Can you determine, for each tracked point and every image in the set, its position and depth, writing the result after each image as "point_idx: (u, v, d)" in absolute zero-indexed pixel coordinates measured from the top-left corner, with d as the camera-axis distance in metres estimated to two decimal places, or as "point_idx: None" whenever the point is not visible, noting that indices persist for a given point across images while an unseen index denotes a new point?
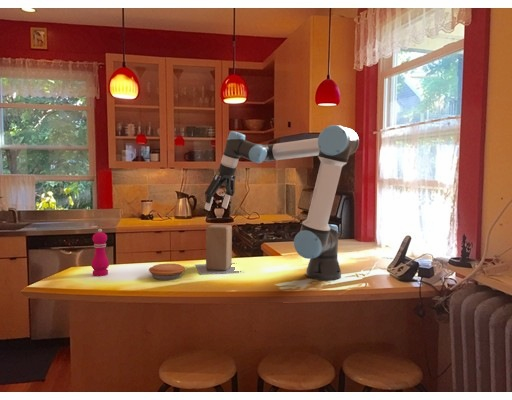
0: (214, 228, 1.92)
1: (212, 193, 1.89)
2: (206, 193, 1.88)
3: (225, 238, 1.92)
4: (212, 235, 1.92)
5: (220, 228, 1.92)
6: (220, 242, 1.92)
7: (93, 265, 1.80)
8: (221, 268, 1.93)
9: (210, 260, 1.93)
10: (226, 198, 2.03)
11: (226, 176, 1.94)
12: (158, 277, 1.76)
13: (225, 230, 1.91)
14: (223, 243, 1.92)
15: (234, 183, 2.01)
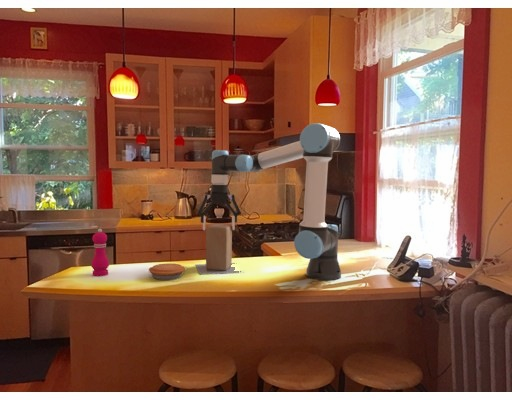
0: (214, 228, 1.92)
1: (202, 212, 1.94)
2: (197, 213, 1.94)
3: (225, 238, 1.92)
4: (212, 235, 1.92)
5: (220, 228, 1.92)
6: (220, 242, 1.92)
7: (93, 265, 1.80)
8: (221, 268, 1.93)
9: (210, 260, 1.93)
10: (232, 219, 1.98)
11: (218, 194, 1.95)
12: (158, 277, 1.76)
13: (225, 230, 1.91)
14: (223, 243, 1.92)
15: (235, 202, 1.97)
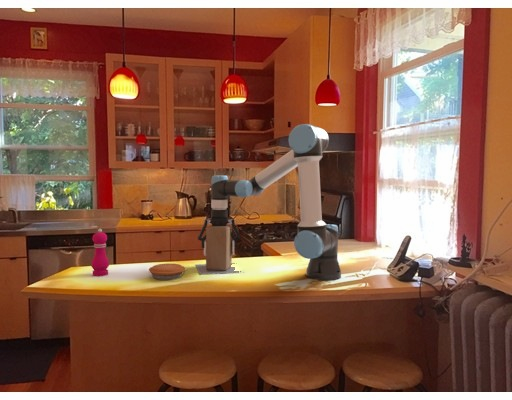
0: (214, 228, 1.92)
1: (203, 237, 1.94)
2: None
3: (225, 238, 1.92)
4: (212, 235, 1.92)
5: (220, 228, 1.92)
6: (220, 242, 1.92)
7: (93, 265, 1.80)
8: (221, 268, 1.93)
9: (210, 260, 1.93)
10: (232, 244, 1.99)
11: (218, 219, 1.95)
12: (158, 277, 1.76)
13: (225, 230, 1.91)
14: (223, 243, 1.92)
15: (235, 227, 1.97)
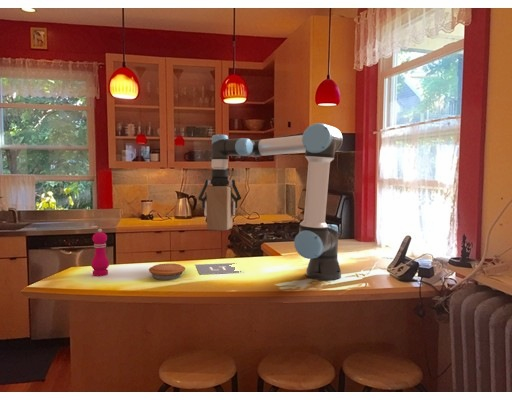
0: (214, 187, 1.91)
1: (203, 197, 1.93)
2: (198, 198, 1.94)
3: (226, 197, 1.90)
4: (212, 194, 1.91)
5: (221, 187, 1.90)
6: (221, 202, 1.91)
7: (93, 265, 1.80)
8: (222, 228, 1.91)
9: (210, 220, 1.92)
10: (232, 204, 1.97)
11: (218, 179, 1.94)
12: (158, 277, 1.76)
13: (226, 189, 1.90)
14: (224, 202, 1.90)
15: (236, 187, 1.96)
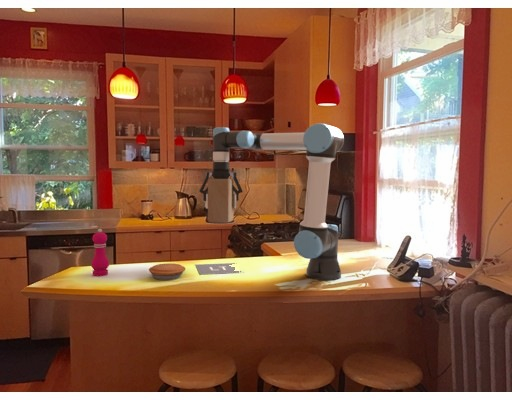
0: (216, 180, 1.91)
1: (205, 190, 1.93)
2: (199, 191, 1.94)
3: (227, 190, 1.90)
4: (214, 187, 1.91)
5: (222, 180, 1.91)
6: (222, 194, 1.91)
7: (93, 265, 1.80)
8: (223, 220, 1.91)
9: (212, 212, 1.92)
10: (234, 197, 1.98)
11: (220, 172, 1.94)
12: (158, 277, 1.76)
13: (227, 182, 1.90)
14: (225, 194, 1.90)
15: (237, 180, 1.96)
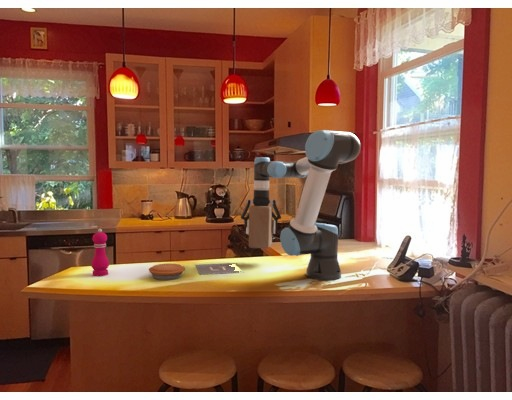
0: (257, 207, 2.01)
1: (246, 217, 2.03)
2: None
3: (268, 217, 2.00)
4: (255, 214, 2.01)
5: (263, 207, 2.00)
6: (263, 221, 2.00)
7: (93, 265, 1.80)
8: (264, 246, 2.01)
9: (253, 238, 2.02)
10: (273, 223, 2.07)
11: (260, 199, 2.04)
12: (158, 277, 1.76)
13: (268, 209, 2.00)
14: (266, 221, 2.00)
15: (276, 207, 2.06)
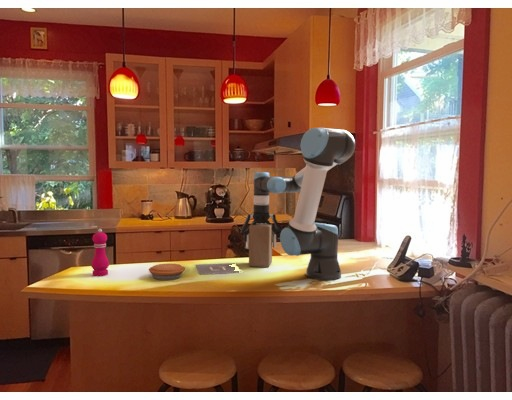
0: (257, 226, 2.01)
1: (246, 231, 2.03)
2: (240, 232, 2.04)
3: (268, 236, 2.01)
4: (255, 233, 2.01)
5: (263, 226, 2.01)
6: (263, 240, 2.01)
7: (93, 265, 1.80)
8: (264, 265, 2.02)
9: (253, 257, 2.02)
10: (273, 237, 2.07)
11: (260, 214, 2.04)
12: (158, 277, 1.76)
13: (268, 228, 2.00)
14: (266, 240, 2.01)
15: (276, 221, 2.06)
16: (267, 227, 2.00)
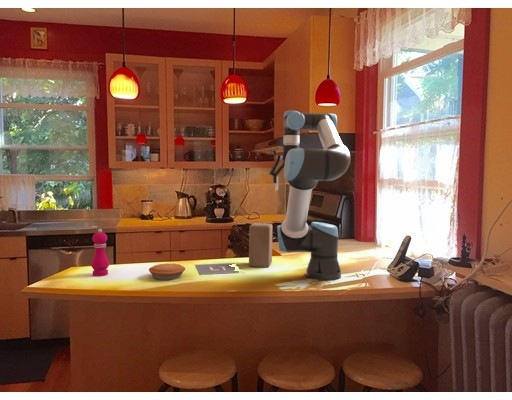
0: (257, 226, 2.01)
1: (275, 172, 1.96)
2: (269, 173, 1.97)
3: (268, 236, 2.01)
4: (255, 233, 2.01)
5: (263, 226, 2.01)
6: (263, 240, 2.01)
7: (93, 265, 1.80)
8: (264, 265, 2.02)
9: (253, 257, 2.02)
10: None
11: None
12: (158, 277, 1.76)
13: (268, 228, 2.00)
14: (266, 240, 2.01)
15: None
16: (267, 227, 2.00)
